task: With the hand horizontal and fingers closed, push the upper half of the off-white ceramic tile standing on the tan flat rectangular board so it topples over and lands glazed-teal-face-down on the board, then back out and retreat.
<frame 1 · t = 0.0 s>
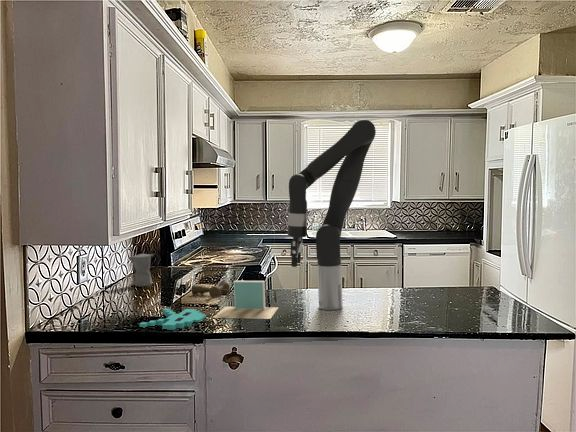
hand: (296, 264, 183), 17 cm above the worktop, tool pointing down, fingers open, 8 cm apart
coffeepot: (145, 284, 237), on the worktop
tan flat rectangular board: (246, 314, 176), on the worktop
tile: (250, 308, 181), point 1 cm above the worktop, touching tan flat rectangular board
alien figure: (177, 322, 171), on the worktop
kendama: (212, 296, 208), on the worktop
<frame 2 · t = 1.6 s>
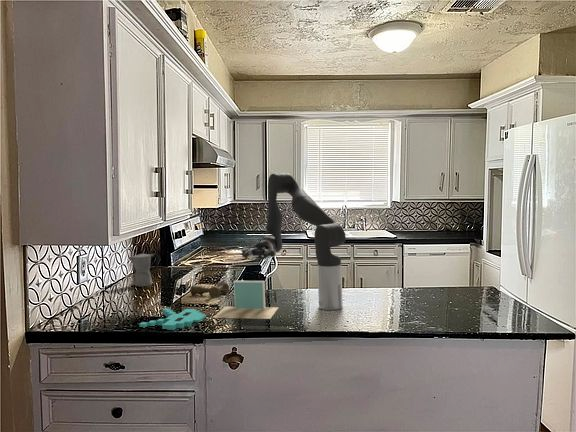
hand: (254, 255, 190), 20 cm above the worktop, tool horizontal, fingers open, 7 cm apart
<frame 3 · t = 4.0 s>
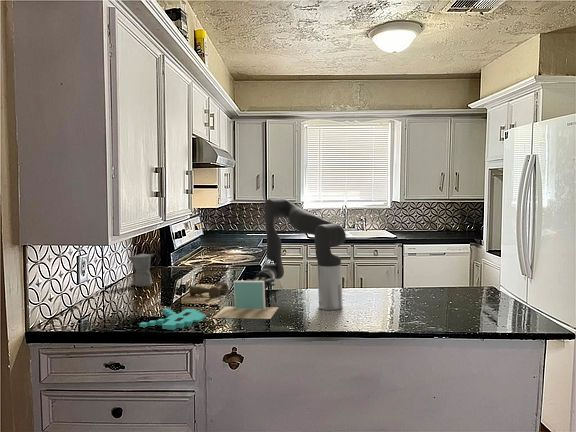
hand: (255, 287, 189), 8 cm above the worktop, tool horizontal, fingers closed
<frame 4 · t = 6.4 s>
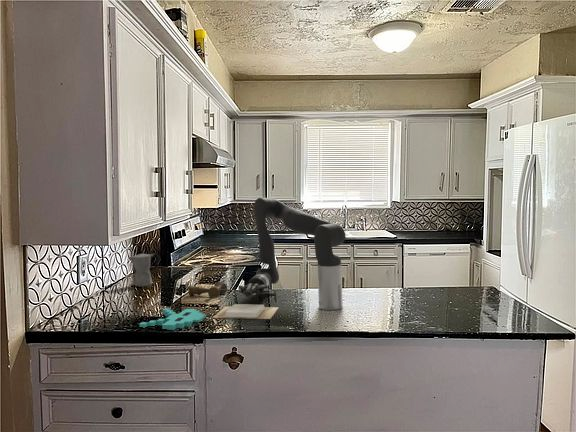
hand: (247, 294, 177), 8 cm above the worktop, tool horizontal, fingers closed
tile: (249, 306, 179), point 2 cm above the worktop, tilted 90°, touching tan flat rectangular board
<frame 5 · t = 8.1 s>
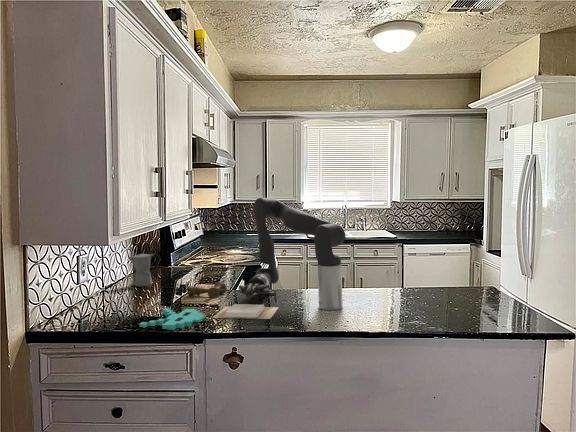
hand: (247, 294, 178), 7 cm above the worktop, tool horizontal, fingers closed
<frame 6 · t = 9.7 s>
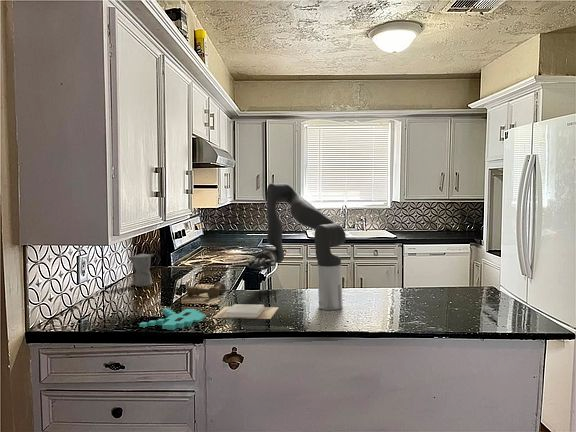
hand: (255, 266, 189), 16 cm above the worktop, tool horizontal, fingers closed
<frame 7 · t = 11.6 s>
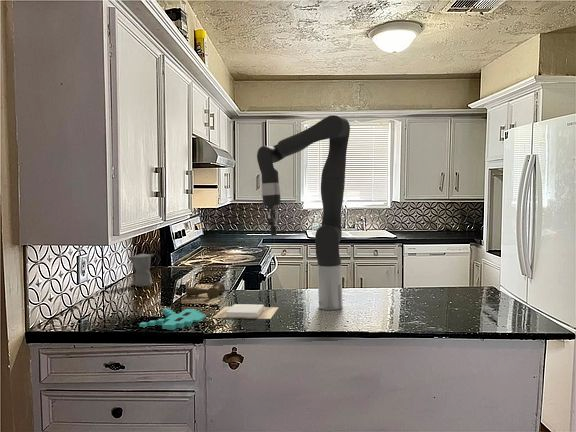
hand: (274, 235, 193), 28 cm above the worktop, tool pointing down, fingers closed
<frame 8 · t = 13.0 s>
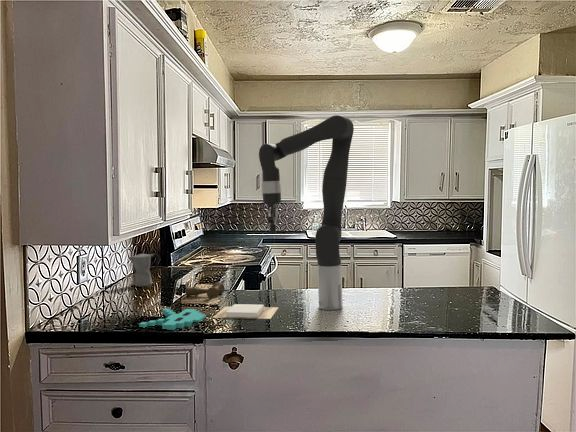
hand: (273, 233, 192), 29 cm above the worktop, tool pointing down, fingers closed
at the end: tile tilted 90°; tile inside the target area (4.3 cm from its centre), point 2.1 cm above the worktop; tile touching tan flat rectangular board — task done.
